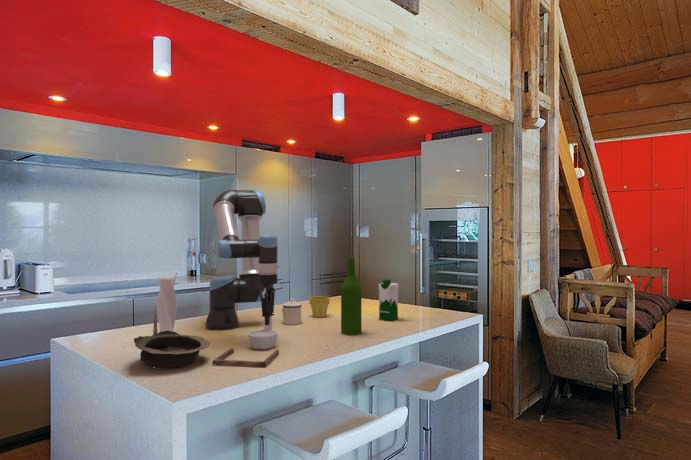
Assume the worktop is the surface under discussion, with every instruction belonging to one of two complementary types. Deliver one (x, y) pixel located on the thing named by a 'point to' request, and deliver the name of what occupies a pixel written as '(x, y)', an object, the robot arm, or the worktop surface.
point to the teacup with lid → (291, 312)
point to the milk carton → (388, 301)
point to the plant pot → (319, 305)
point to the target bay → (264, 363)
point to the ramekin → (263, 339)
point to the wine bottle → (351, 302)
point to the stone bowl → (170, 349)
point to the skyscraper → (166, 304)
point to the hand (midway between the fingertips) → (268, 332)
